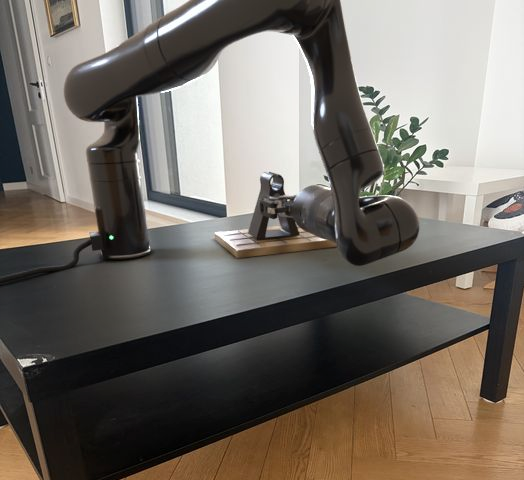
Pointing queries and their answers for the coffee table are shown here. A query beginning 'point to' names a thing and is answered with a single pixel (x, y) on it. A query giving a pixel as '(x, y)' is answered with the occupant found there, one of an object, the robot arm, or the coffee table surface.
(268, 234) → the phone stand
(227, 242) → the board
